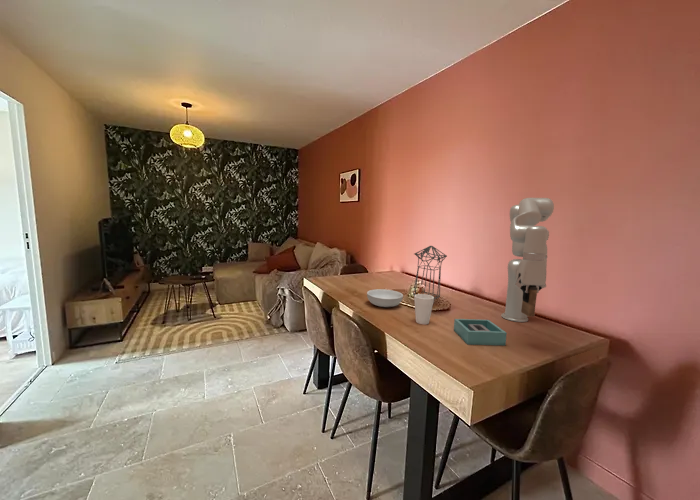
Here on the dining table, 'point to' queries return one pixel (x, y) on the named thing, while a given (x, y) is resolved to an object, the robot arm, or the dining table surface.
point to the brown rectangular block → (530, 302)
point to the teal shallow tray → (479, 332)
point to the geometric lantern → (429, 267)
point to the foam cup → (423, 308)
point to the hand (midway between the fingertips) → (528, 301)
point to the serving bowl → (384, 297)
